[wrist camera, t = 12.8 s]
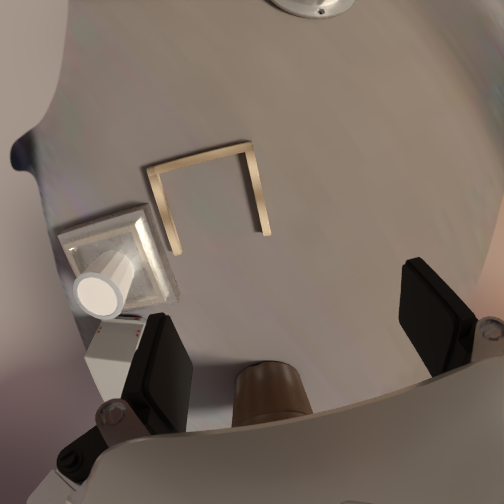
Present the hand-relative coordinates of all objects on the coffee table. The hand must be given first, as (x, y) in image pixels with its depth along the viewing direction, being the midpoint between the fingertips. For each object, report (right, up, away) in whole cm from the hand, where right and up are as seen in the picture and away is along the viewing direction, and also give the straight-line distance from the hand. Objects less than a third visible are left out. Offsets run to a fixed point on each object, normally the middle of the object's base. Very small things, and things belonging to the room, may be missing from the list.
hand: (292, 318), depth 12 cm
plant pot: (+2, -21, +43) cm, 48 cm away
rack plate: (-20, +1, +30) cm, 36 cm away
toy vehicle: (-22, -15, +38) cm, 47 cm away
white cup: (-20, 0, +28) cm, 34 cm away
